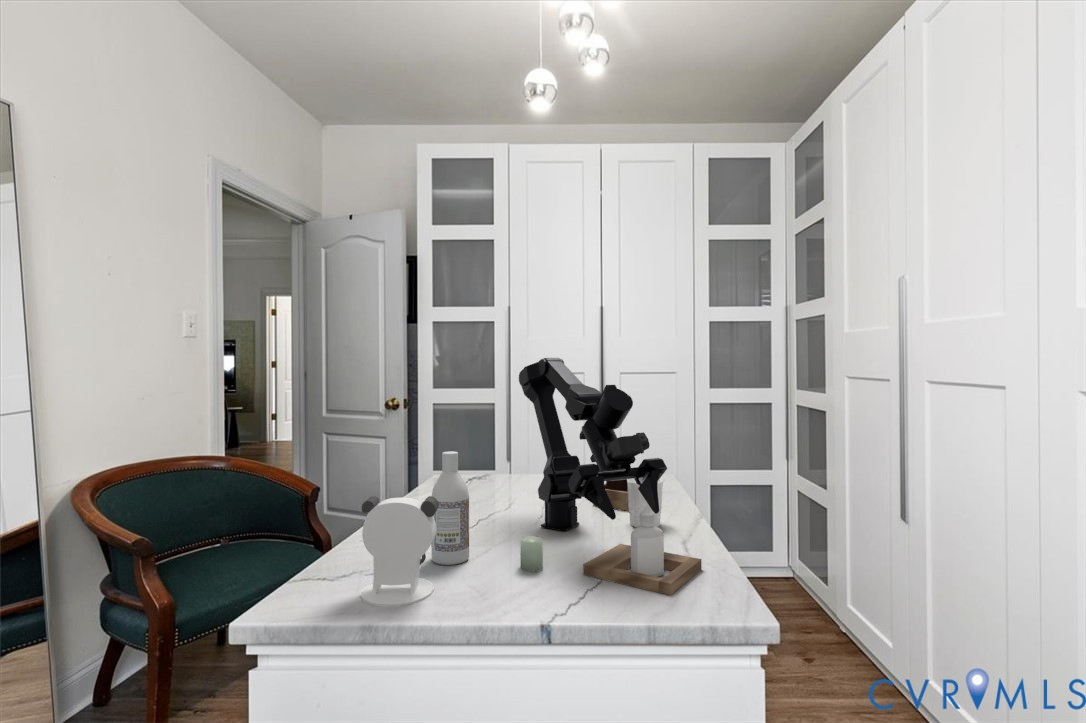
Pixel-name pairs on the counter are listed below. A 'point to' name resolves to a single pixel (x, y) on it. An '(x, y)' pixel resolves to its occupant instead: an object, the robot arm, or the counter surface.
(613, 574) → the walnut square frame
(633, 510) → the white cup
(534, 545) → the pale green rounded cylinder
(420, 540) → the panda figurine
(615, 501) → the walnut watch frame
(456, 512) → the bath foam
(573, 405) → the robot arm
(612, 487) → the dark brown rounded piece
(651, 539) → the eye dropper bottle
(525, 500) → the counter surface
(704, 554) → the counter surface
